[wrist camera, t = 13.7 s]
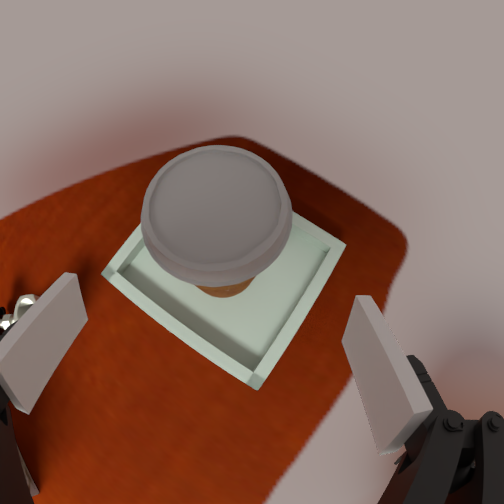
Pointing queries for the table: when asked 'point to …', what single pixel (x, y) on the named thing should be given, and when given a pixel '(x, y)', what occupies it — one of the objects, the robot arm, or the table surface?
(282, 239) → the disposable coffee cup
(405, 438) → the robot arm
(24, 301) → the valve
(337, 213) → the table surface
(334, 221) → the table surface
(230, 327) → the tray
